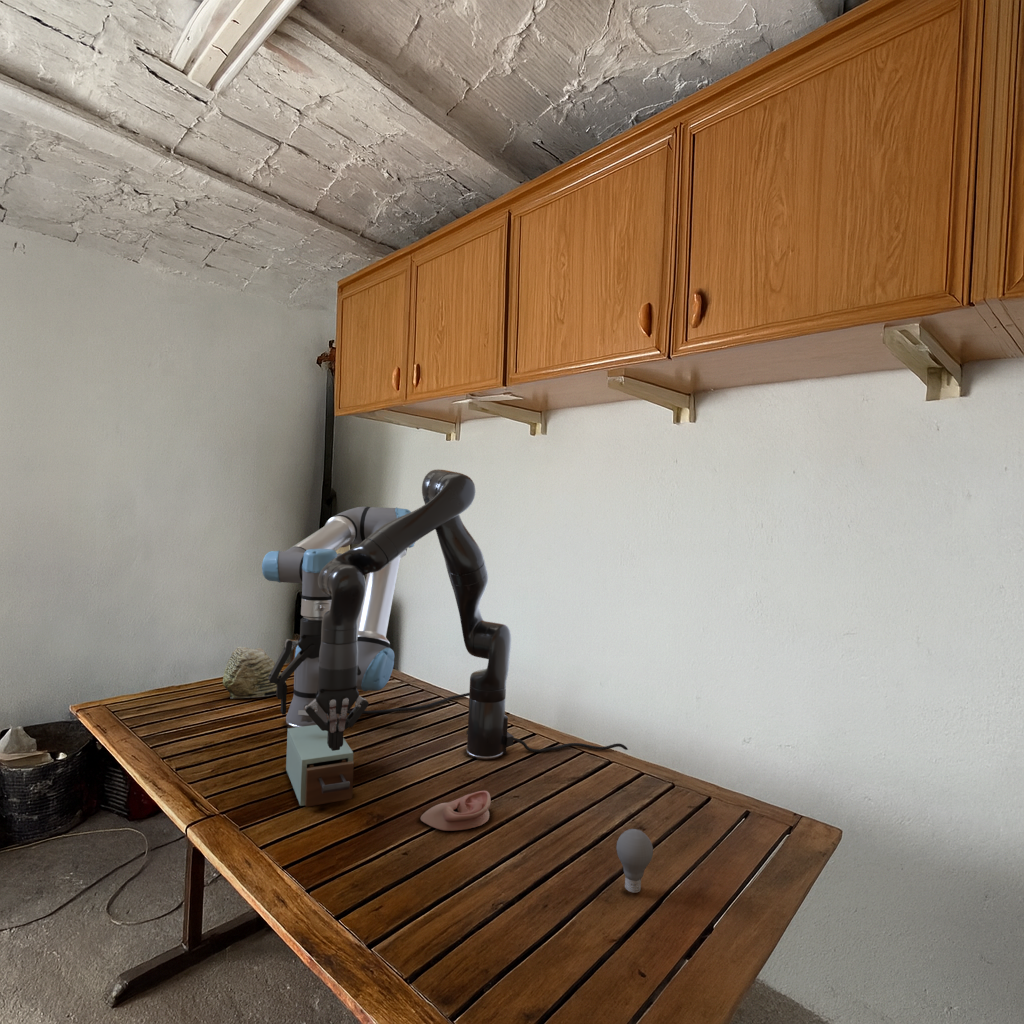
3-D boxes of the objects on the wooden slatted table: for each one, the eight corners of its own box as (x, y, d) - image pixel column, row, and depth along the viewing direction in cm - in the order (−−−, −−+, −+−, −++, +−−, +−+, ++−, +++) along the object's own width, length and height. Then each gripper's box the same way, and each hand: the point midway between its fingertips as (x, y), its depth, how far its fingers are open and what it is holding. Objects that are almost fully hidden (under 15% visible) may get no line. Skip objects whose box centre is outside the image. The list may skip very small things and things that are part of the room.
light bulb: (610, 879, 108) (613, 822, 108) (644, 879, 109) (647, 822, 109) (619, 902, 102) (622, 840, 102) (655, 901, 103) (658, 840, 103)
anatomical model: (415, 806, 123) (434, 781, 134) (414, 826, 123) (433, 799, 134) (481, 816, 120) (495, 789, 132) (480, 836, 120) (494, 808, 132)
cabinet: (351, 797, 134) (353, 752, 134) (300, 806, 129) (301, 760, 129) (332, 762, 151) (333, 722, 151) (285, 769, 146) (287, 728, 146)
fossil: (218, 695, 195) (220, 647, 195) (278, 685, 208) (279, 640, 207) (228, 703, 189) (230, 653, 188) (289, 692, 201) (290, 645, 201)
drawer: (359, 810, 127) (360, 773, 126) (311, 820, 122) (312, 781, 122) (333, 765, 147) (334, 733, 147) (291, 771, 143) (293, 738, 143)
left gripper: (261, 622, 136) (258, 721, 136) (376, 617, 147) (372, 707, 148) (257, 616, 142) (254, 710, 143) (367, 611, 154) (364, 698, 154)
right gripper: (307, 670, 120) (304, 761, 120) (376, 664, 126) (372, 751, 126) (300, 661, 126) (297, 747, 127) (366, 655, 133) (363, 737, 133)
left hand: (314, 709), depth 145 cm, fingers open, 13 cm apart
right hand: (335, 748), depth 127 cm, fingers closed
